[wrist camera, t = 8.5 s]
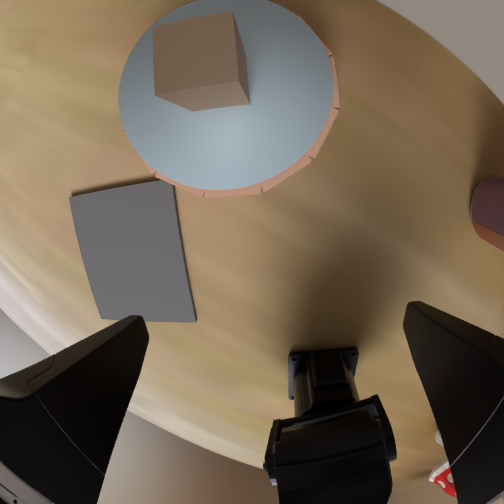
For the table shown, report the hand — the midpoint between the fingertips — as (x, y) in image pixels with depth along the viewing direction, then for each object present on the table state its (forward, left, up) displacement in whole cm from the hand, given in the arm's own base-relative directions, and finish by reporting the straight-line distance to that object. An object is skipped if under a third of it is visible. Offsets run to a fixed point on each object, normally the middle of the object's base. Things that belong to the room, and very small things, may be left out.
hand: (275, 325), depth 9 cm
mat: (-2, +12, -12) cm, 17 cm away
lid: (+9, +2, -8) cm, 12 cm away
